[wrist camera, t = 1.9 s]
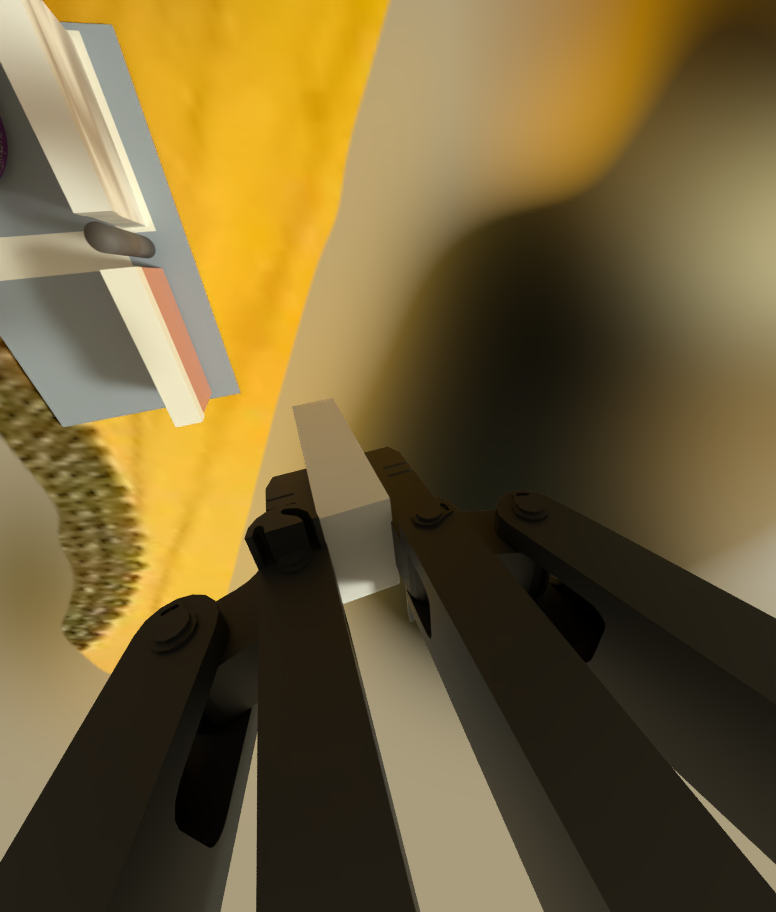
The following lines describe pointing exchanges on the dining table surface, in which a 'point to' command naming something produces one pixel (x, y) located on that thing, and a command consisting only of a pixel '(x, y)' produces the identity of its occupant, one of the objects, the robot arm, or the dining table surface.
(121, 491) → the dining table surface
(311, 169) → the dining table surface
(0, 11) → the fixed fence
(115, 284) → the cream pink flat block
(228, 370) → the mat
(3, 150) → the beverage can
